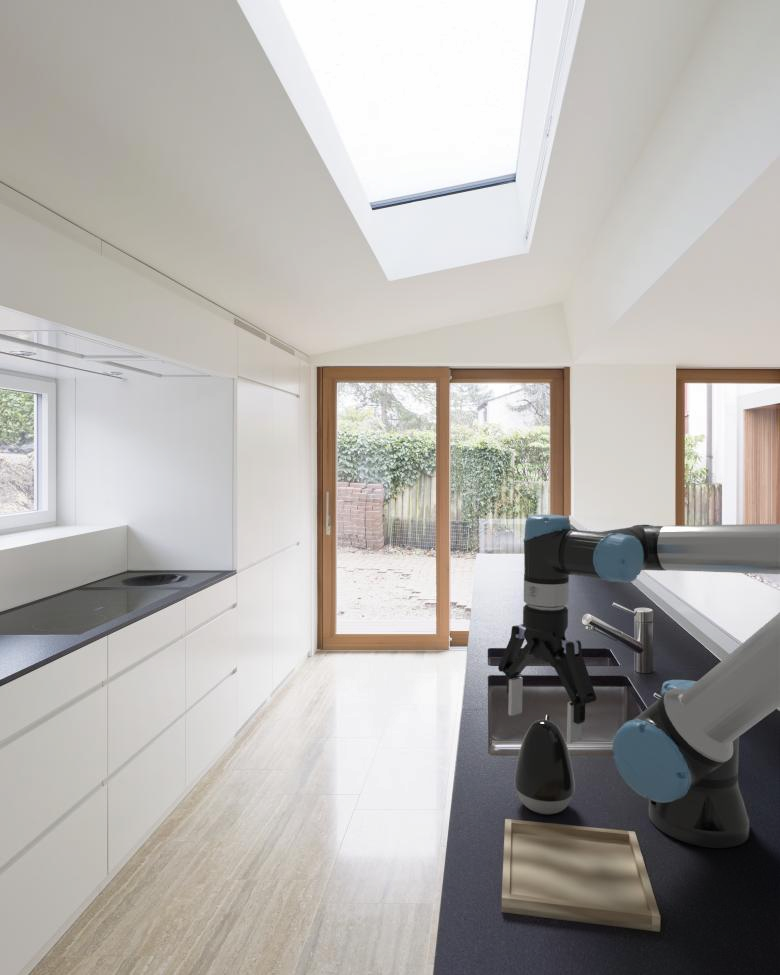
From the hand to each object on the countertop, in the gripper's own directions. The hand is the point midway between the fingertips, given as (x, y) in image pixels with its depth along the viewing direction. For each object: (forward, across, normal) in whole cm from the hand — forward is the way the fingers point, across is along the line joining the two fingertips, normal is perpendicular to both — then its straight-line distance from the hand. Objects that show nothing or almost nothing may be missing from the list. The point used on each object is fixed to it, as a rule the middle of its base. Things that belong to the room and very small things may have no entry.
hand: (543, 726), depth 117 cm
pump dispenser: (+14, 0, 0) cm, 14 cm away
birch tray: (+14, +16, -11) cm, 24 cm away
